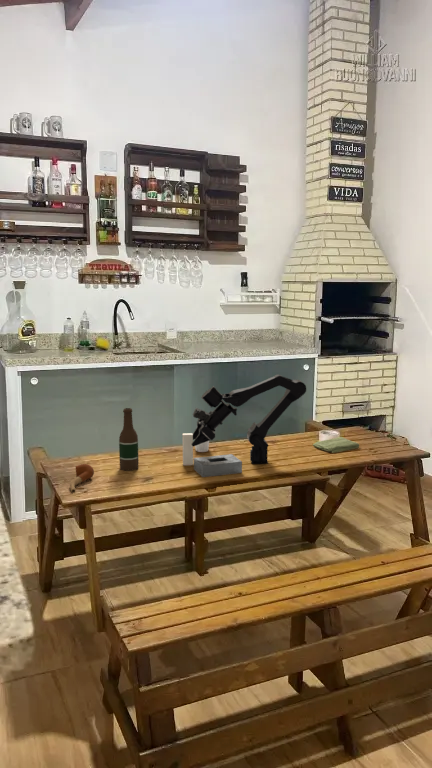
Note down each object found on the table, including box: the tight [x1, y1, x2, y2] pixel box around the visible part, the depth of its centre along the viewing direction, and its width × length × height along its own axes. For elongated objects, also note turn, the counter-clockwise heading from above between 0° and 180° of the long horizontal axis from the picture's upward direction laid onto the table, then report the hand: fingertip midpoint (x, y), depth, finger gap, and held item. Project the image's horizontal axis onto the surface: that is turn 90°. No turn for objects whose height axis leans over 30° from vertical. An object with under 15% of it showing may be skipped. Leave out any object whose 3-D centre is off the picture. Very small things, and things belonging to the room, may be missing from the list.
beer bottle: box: [118, 407, 140, 472], centre depth 254 cm, size 8×8×24 cm
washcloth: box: [312, 436, 360, 454], centre depth 285 cm, size 13×18×3 cm
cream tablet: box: [182, 432, 194, 466], centre depth 260 cm, size 4×2×12 cm, turn 96°
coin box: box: [193, 453, 243, 478], centre depth 252 cm, size 16×11×4 cm
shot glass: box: [193, 439, 210, 453], centre depth 281 cm, size 7×7×7 cm
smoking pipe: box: [69, 463, 95, 493], centre depth 237 cm, size 7×18×6 cm, turn 2°
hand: (191, 442), depth 260 cm, fingers open, 9 cm apart
